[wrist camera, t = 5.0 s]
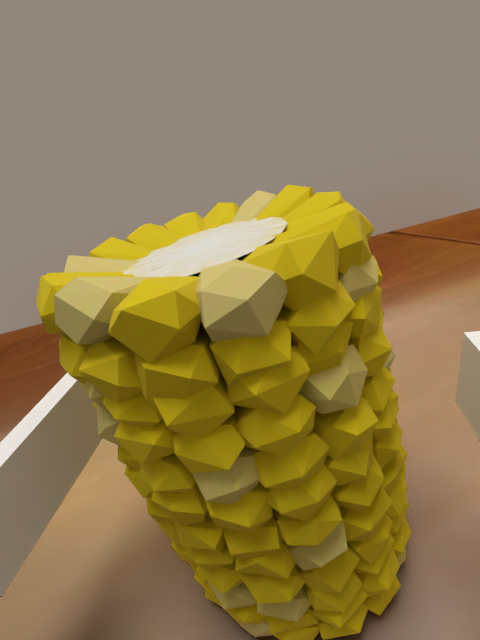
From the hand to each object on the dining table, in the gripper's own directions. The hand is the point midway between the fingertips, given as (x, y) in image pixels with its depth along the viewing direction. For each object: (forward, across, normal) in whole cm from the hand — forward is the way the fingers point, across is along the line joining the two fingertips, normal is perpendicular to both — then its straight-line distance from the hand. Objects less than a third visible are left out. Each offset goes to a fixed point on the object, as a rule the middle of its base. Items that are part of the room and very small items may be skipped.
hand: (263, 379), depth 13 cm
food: (0, 0, -8) cm, 8 cm away
